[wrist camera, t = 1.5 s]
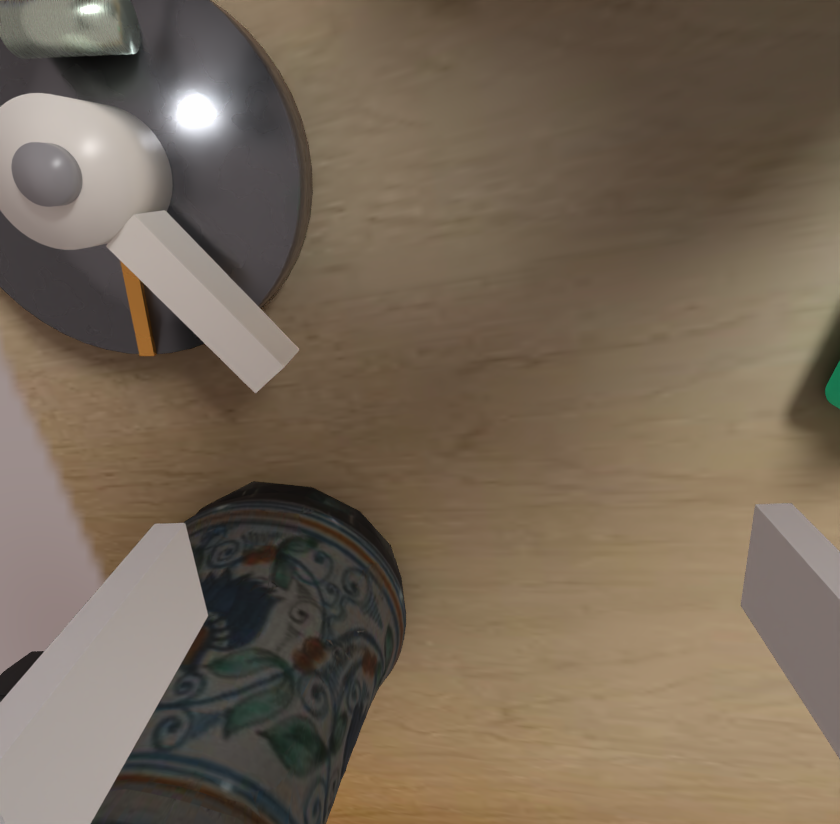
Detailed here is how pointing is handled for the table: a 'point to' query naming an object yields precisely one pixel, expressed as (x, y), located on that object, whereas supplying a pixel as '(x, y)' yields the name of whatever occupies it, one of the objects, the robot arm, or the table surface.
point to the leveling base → (185, 148)
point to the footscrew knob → (126, 219)
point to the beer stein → (269, 665)
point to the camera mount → (834, 388)
